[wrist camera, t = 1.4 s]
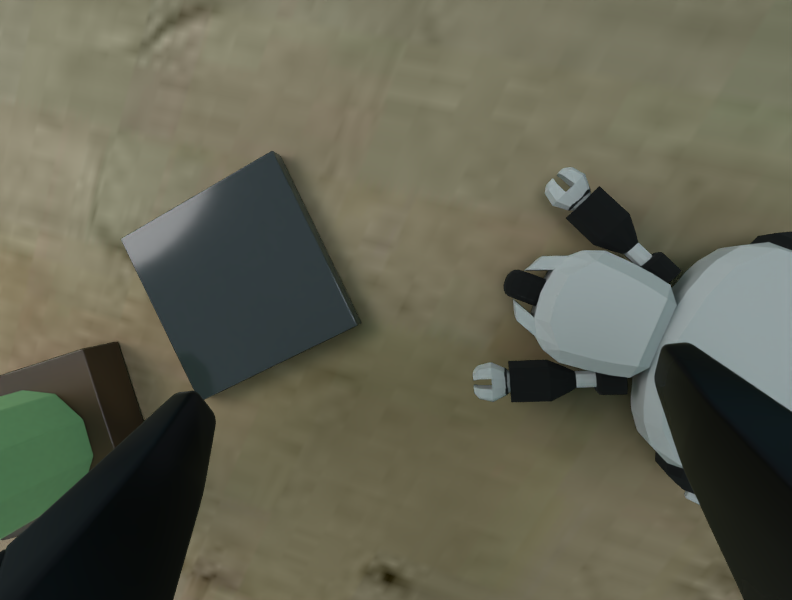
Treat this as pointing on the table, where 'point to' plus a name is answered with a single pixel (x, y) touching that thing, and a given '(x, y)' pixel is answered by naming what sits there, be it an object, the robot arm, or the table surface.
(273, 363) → the slate coaster
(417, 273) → the table surface
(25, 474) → the green faceted hollow cylinder
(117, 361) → the stacking stand
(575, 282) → the robot toy
